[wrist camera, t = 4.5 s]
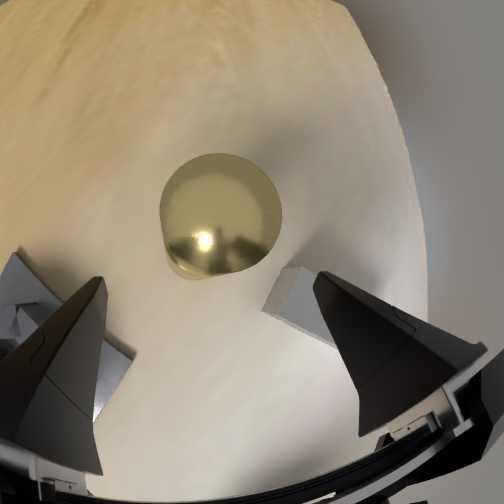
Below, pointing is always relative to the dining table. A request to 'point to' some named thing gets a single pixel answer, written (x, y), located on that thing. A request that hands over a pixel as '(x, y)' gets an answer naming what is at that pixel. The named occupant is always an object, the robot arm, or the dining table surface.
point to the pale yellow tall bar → (218, 216)
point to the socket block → (36, 313)
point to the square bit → (298, 304)
